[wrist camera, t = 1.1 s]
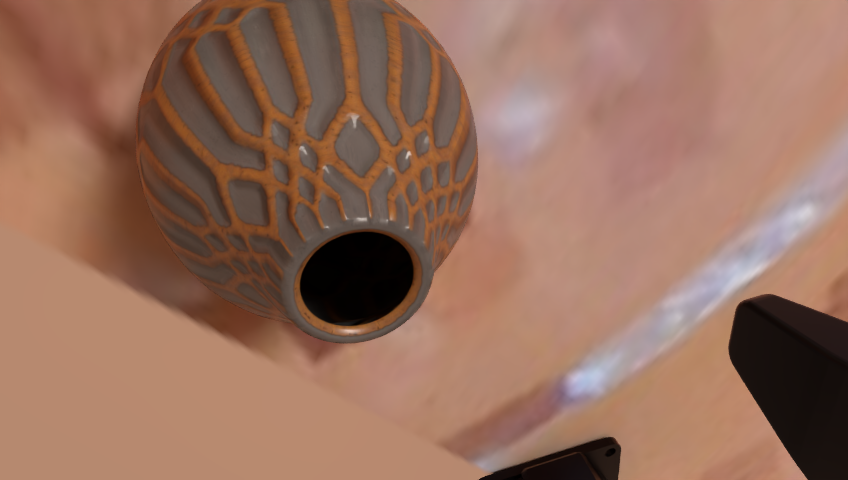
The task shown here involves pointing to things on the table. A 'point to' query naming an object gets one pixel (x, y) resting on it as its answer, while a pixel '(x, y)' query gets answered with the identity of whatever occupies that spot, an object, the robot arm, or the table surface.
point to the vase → (308, 158)
